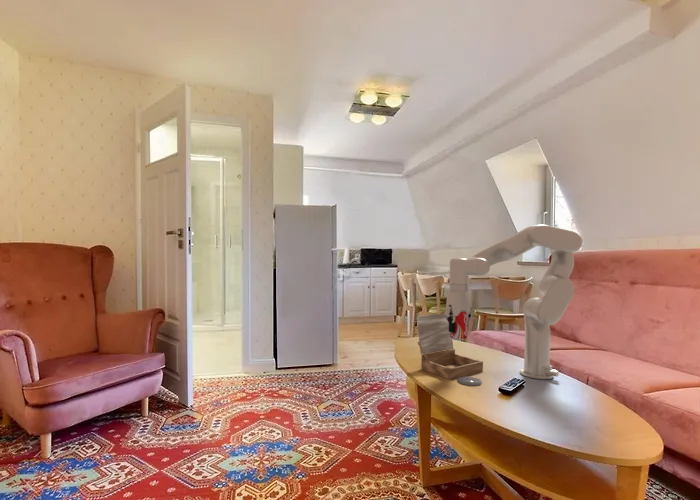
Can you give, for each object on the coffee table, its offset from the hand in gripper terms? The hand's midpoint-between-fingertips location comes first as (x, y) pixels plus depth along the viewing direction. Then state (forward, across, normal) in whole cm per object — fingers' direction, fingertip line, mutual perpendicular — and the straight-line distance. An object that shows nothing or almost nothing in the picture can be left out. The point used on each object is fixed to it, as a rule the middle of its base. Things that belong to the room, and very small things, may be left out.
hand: (458, 330), depth 168 cm
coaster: (+17, +5, +10) cm, 21 cm away
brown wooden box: (+17, 0, -6) cm, 18 cm away
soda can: (+4, 0, 0) cm, 4 cm away
